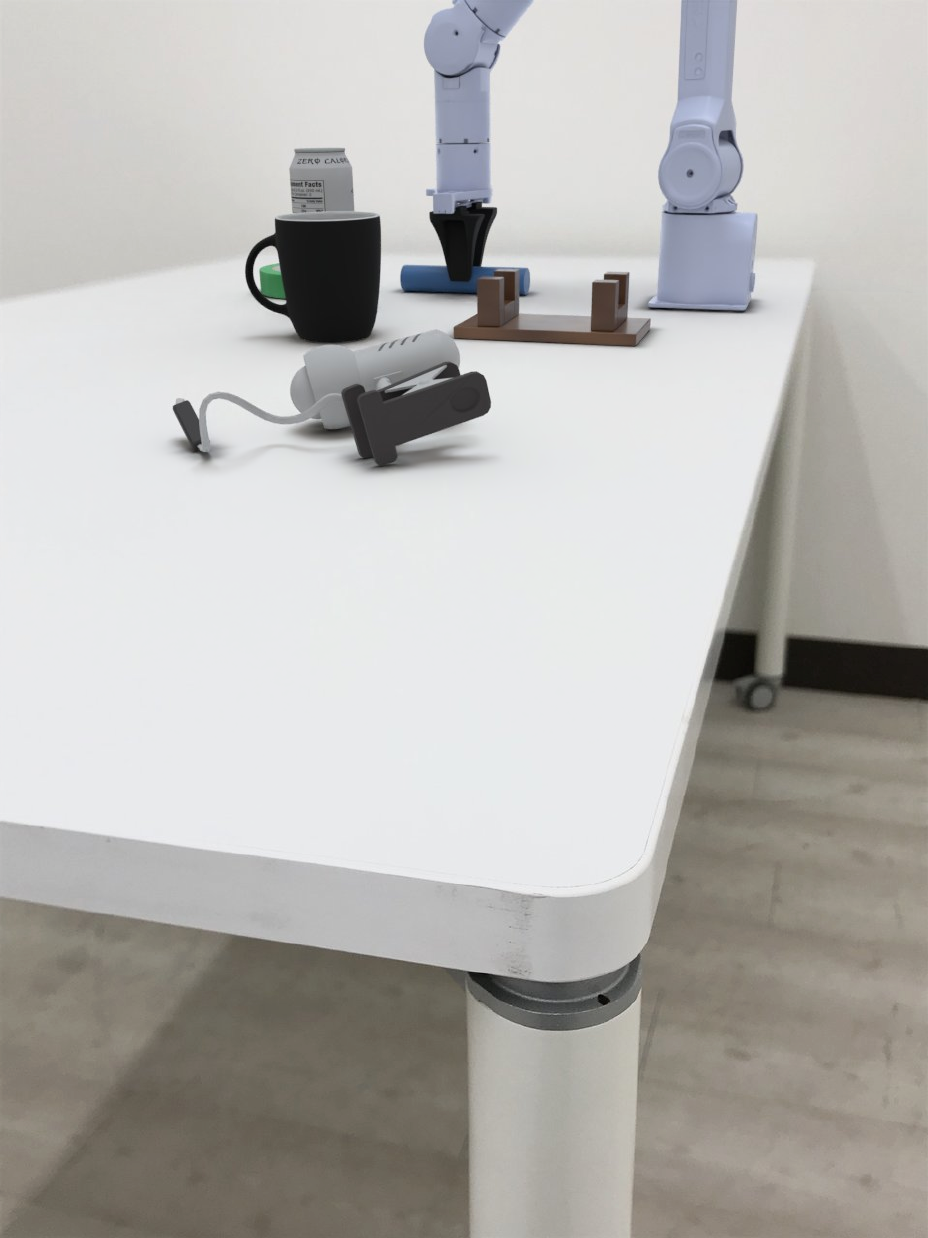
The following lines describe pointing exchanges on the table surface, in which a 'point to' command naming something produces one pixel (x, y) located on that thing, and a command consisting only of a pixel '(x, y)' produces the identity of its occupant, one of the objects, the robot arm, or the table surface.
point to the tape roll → (271, 281)
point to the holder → (506, 323)
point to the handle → (439, 281)
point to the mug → (325, 273)
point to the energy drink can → (321, 180)
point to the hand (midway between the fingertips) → (464, 278)
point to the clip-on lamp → (371, 394)
